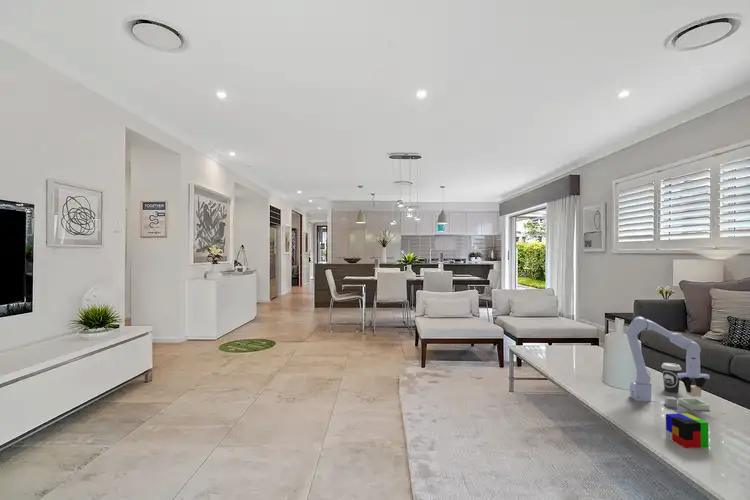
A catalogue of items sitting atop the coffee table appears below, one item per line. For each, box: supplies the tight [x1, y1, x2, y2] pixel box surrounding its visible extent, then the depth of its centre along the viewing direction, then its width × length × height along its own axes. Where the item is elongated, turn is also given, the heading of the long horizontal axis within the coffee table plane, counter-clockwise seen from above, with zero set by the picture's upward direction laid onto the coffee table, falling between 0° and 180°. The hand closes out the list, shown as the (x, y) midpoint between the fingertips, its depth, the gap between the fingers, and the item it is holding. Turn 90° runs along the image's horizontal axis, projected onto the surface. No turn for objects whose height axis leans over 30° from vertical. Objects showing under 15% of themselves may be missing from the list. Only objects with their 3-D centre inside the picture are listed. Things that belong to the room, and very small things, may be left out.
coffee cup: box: [660, 362, 682, 394], centre depth 237 cm, size 10×10×15 cm
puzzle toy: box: [665, 413, 709, 449], centre depth 172 cm, size 10×10×10 cm
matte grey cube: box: [664, 395, 678, 408], centre depth 212 cm, size 4×4×4 cm
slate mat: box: [662, 403, 697, 416], centre depth 207 cm, size 8×14×1 cm, turn 175°
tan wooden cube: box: [686, 384, 702, 398], centre depth 211 cm, size 4×4×4 cm
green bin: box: [677, 397, 710, 411], centre depth 211 cm, size 9×9×3 cm
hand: (693, 392), depth 211 cm, fingers closed on tan wooden cube, 4 cm apart
